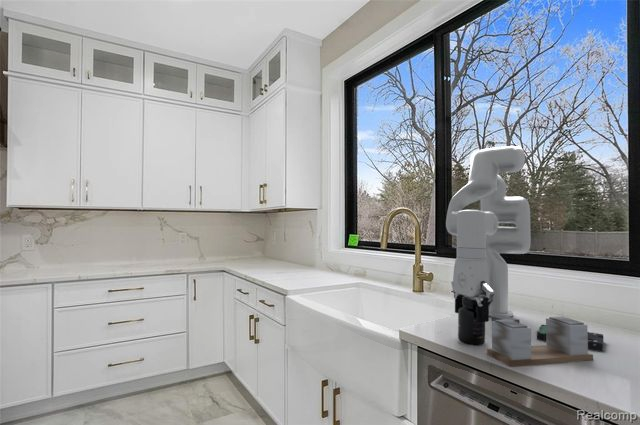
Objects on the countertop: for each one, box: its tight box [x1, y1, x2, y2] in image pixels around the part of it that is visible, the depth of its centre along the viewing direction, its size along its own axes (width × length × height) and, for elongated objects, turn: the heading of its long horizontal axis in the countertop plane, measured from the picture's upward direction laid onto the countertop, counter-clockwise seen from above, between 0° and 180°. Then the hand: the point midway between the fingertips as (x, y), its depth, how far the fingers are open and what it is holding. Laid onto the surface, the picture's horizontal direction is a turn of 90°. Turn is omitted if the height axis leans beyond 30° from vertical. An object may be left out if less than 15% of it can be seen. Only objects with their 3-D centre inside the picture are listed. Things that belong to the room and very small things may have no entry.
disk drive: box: [536, 324, 604, 352], centre depth 100 cm, size 10×3×15 cm
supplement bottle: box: [457, 296, 486, 346], centre depth 98 cm, size 7×7×12 cm
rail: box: [486, 316, 594, 367], centre depth 87 cm, size 8×23×9 cm, turn 102°
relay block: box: [491, 315, 520, 323], centre depth 105 cm, size 6×4×5 cm, turn 32°
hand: (471, 317), depth 97 cm, fingers open, 9 cm apart
